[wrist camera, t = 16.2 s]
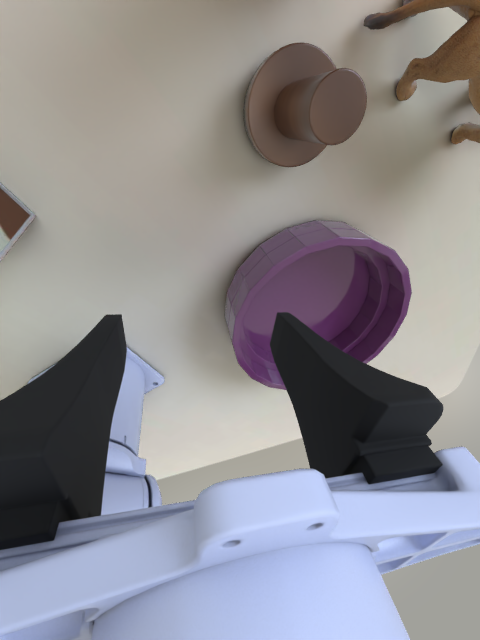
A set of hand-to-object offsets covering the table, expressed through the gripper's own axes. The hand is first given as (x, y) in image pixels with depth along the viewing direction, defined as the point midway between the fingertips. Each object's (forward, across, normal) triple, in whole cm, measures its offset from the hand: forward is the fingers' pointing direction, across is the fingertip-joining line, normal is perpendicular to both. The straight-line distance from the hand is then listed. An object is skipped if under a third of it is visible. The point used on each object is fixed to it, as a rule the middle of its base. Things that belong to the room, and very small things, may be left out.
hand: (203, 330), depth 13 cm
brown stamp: (+10, -6, -9) cm, 15 cm away
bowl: (+10, -11, +5) cm, 16 cm away
